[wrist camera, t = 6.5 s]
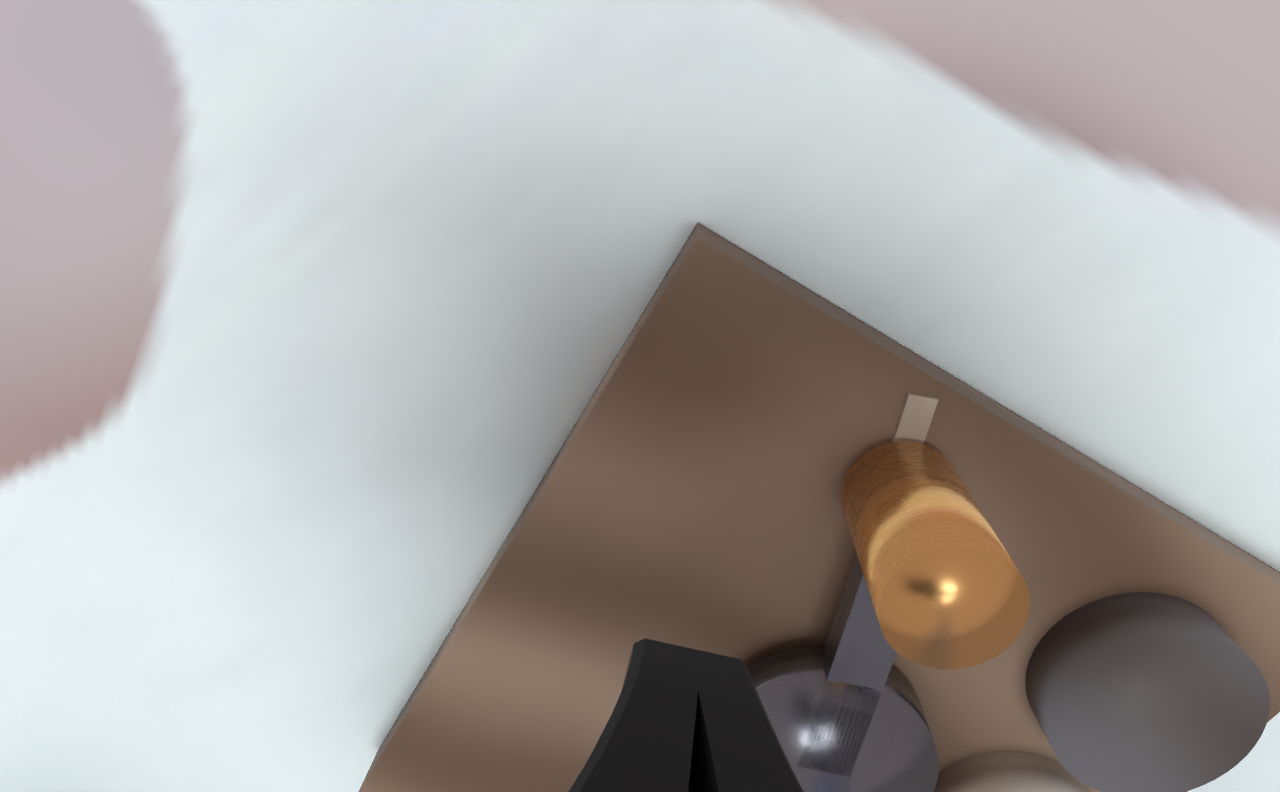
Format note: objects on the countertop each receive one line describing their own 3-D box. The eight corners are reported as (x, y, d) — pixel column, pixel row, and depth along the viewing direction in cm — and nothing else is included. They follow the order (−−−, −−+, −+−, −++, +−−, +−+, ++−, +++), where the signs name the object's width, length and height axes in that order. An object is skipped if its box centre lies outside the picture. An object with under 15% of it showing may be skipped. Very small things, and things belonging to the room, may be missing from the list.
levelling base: (882, 991, 26) (906, 1113, 23) (378, 750, 23) (330, 850, 20) (1319, 596, 20) (1429, 690, 17) (698, 222, 17) (696, 254, 14)
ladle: (888, 828, 21) (929, 994, 17) (690, 789, 21) (688, 946, 17) (1038, 466, 17) (1133, 579, 13) (796, 417, 17) (823, 517, 13)
